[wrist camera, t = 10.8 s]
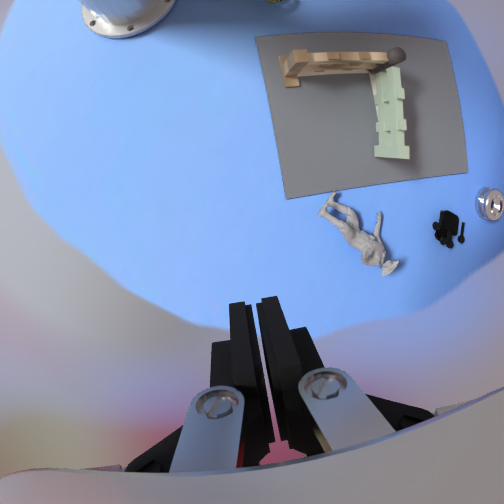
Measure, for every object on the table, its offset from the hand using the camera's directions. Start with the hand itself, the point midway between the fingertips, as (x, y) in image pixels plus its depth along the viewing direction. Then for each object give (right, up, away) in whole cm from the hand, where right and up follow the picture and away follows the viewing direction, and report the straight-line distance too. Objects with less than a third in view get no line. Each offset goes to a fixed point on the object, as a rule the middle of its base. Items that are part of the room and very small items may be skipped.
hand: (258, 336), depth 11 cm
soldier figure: (+13, +6, +28) cm, 31 cm away
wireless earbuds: (+27, +7, +29) cm, 41 cm away
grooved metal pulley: (+36, +11, +29) cm, 47 cm away
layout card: (+16, +21, +23) cm, 35 cm away
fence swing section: (+15, +19, +23) cm, 34 cm away
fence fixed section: (+9, +25, +22) cm, 34 cm away
